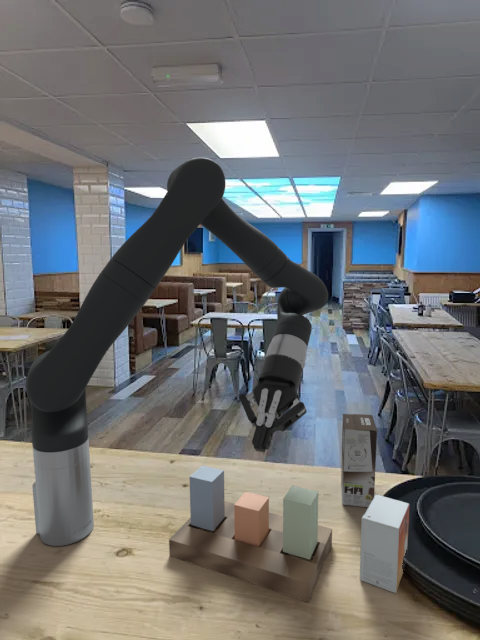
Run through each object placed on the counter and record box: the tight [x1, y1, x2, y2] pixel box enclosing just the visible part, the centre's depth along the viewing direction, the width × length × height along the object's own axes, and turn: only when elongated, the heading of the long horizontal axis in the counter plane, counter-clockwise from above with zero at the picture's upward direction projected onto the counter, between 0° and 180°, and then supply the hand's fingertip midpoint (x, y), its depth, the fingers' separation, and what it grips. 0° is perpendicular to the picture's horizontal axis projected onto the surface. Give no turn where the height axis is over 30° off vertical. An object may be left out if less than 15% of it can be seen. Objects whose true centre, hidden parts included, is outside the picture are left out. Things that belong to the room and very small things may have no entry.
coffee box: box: [340, 413, 378, 508], centre depth 90 cm, size 9×6×16 cm
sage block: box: [282, 485, 319, 560], centre depth 70 cm, size 4×4×9 cm
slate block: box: [189, 465, 225, 532], centre depth 77 cm, size 4×4×9 cm
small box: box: [359, 494, 411, 594], centre depth 68 cm, size 8×6×10 cm
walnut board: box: [168, 500, 333, 603], centre depth 74 cm, size 24×14×3 cm, turn 65°
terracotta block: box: [233, 491, 270, 547], centre depth 74 cm, size 4×4×9 cm
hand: (259, 450), depth 74 cm, fingers closed
